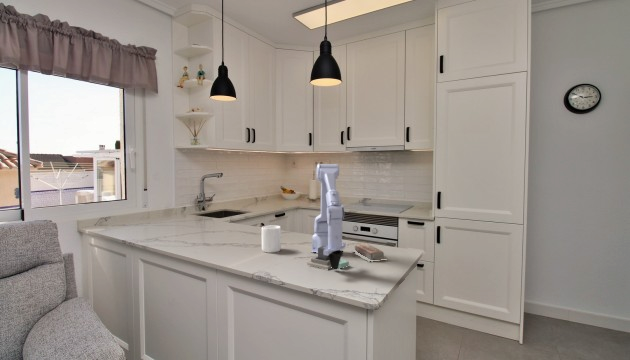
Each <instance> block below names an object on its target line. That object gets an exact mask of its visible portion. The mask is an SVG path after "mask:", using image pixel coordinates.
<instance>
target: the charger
mask: <svg viewBox="0 0 630 360" xmlns="http://www.w3.org/2000/svg"><path fill="white" fill-rule="evenodd" d="M325 249H326V246H321V247H319V248H318V253H317V256H318V259H319V260H324V261H328V260H329V257H328V256H327V255H323V250H325Z"/></svg>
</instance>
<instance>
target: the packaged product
mask: <svg viewBox="0 0 630 360" xmlns="http://www.w3.org/2000/svg"><path fill="white" fill-rule="evenodd" d="M354 249H355V250H356V251H357V252H358V253H360V254H361V255H363V256H365V257H367V258H368V259H370V260H381V259H387V260H388V257H387V256H385V253H384V251H382V250H381V249H378V248H377V247H375V246H373V245H371V244H369V243H367V242H360V243H358V244H356V245H355V246H354Z"/></svg>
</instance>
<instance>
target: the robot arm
mask: <svg viewBox="0 0 630 360" xmlns="http://www.w3.org/2000/svg"><path fill="white" fill-rule="evenodd" d="M339 176H340V165H339V164H338V163H330V164H328V163H317V165H316V176H315V177H316V180H317V181H319V183H320V214H318V215H317V216H316V217H314V223H313V227H314V229H313V230H314V231H313V232H314V234H313V235H312V236H311V250H310V252H311V253H313V251H314V252H317V253H316V254H318V248H319V247H321V246H326V249H325V250H323V255H327V256H328V257H329V260H330V263H331V267H332V268H331V269H332V270H338V266H339V262H340V259H341V258H342V256H343V254H344V250H345V248H346V244H347V243H346V242H343V221H344V219H345V207H344V205H343V203H342V201H341V195H340V192H339V191H338V190H337V185H336V180H337V179H338V177H339Z"/></svg>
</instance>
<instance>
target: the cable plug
mask: <svg viewBox="0 0 630 360" xmlns="http://www.w3.org/2000/svg"><path fill="white" fill-rule="evenodd" d="M348 265H349V266H350V261H348V260H345V259H341V260H340V262H339V266H338V268H343V267H346V266H348Z"/></svg>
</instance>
